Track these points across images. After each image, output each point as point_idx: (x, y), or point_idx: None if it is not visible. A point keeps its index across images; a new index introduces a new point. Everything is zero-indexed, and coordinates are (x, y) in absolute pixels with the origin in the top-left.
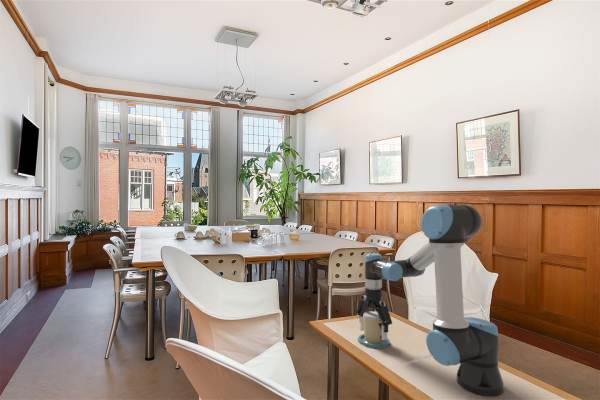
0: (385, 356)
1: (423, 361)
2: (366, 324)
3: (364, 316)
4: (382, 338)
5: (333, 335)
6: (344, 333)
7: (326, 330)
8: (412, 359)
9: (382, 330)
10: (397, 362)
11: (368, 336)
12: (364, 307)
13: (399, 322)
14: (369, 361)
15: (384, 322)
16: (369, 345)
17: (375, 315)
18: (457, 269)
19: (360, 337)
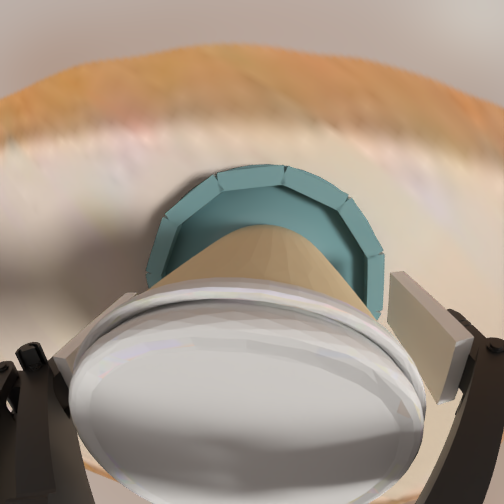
0: (66, 208)
1: (16, 320)
2: (227, 252)
3: (296, 312)
4: (124, 297)
5: (487, 120)
6: (486, 207)
7: None
8: (28, 300)
9: (88, 328)
10: (17, 220)
11: (231, 234)
12: (471, 495)
13: (382, 495)
14: (60, 93)
15: (23, 376)
16: (189, 195)
17: (175, 463)
18: None
19: (345, 222)
